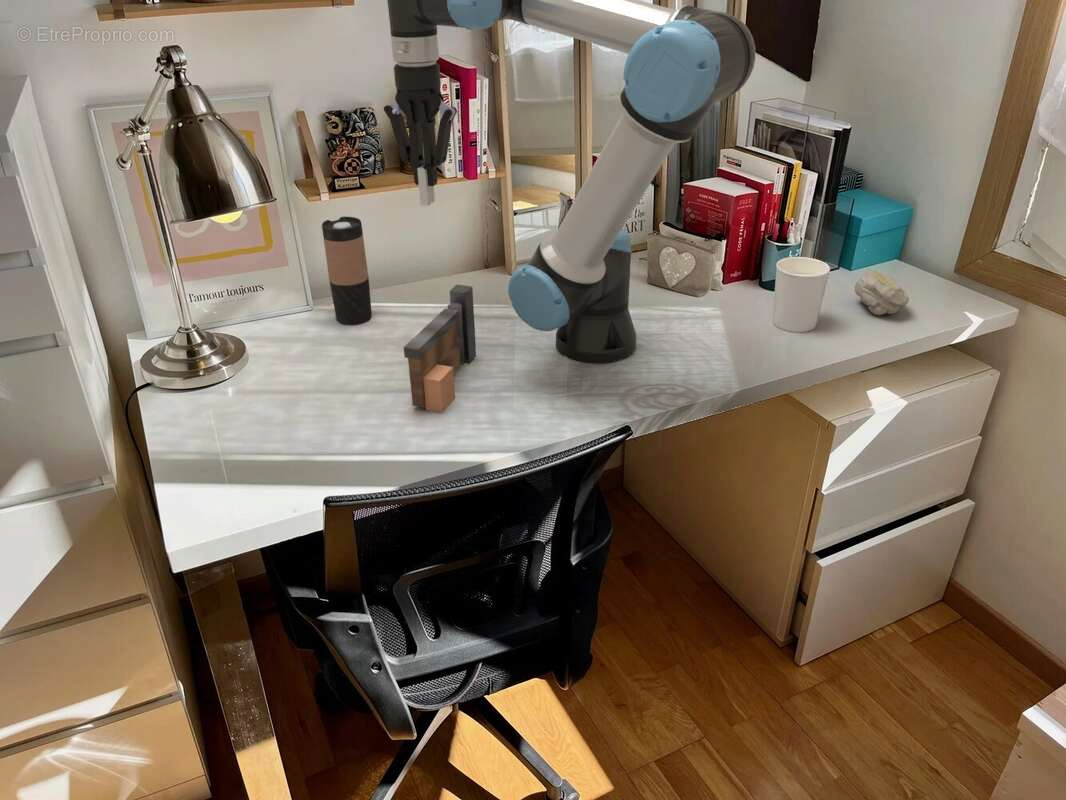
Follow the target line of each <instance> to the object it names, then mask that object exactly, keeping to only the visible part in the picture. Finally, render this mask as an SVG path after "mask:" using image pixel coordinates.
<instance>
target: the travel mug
mask: <svg viewBox="0 0 1066 800" xmlns="http://www.w3.org/2000/svg"><path fill="white" fill-rule="evenodd" d="M321 229H322V236H323V242H324V251H325V252H324V253H325V257H326V267H327V274H328V279H329V286H330V292H331V296H332V297H331V298H332V304H333V307H334V313H335V314H334V315H335V319H336V321H337V323H339V324H341V325H345V326H356V325H357V326H358V325H362V324H364V323H366V322H369V321H370V320H371V319H372V316H373V314H372V302H371V301H372V299H371V291H370V279H369V278H370V277H369V271H368V270H369V269H368V262H367V255H366V248H365V240H364V232H363V223H362V221H361V219H359V218H358V217H355V216H354V217H353V216H341V217H339V218H338V219H336V220H330V219H326V220H325V221H323V222H322V224H321Z"/></svg>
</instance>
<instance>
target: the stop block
mask: <svg viewBox="0 0 1066 800" xmlns="http://www.w3.org/2000/svg"><path fill="white" fill-rule="evenodd" d="M454 375H455V373H454V374H453V367H450V366H444V365H438V364H437V365H436V366H435V367H434V368H433V369H432V370H431V371H430V372H429V373H428V374H427V375H426V376H425V377H424V378H423V383H424V393H425V404H426V405H425V410H426V411H433V412H436V413H443V412H444V411H445V410H446V409H447V408H448V407H449V406H450V405H451V404H452V402H454V401H455V399H456V390H455V389H456V387H455V376H454Z"/></svg>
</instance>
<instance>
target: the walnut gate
mask: <svg viewBox="0 0 1066 800" xmlns="http://www.w3.org/2000/svg"><path fill="white" fill-rule="evenodd" d="M403 355H404V358H407V362H408V373H409V381H410V382H409V383H410V390H411V392H410V393H411V401H412V406H414V407H420V408H424V407H426V404H425V393H424V383H423V378H424V377H425V376H426V375H427V374H428V373H429V372H430V371H431V370H432V369H433V368H434V367H435V366H436V365H437V364H438V365H444V366H450V367H453V374H454V375H455V374H456V372H457V371H458V370H459V369H460V368H461V367H462V366H463V365H465V364H466V363H465V355H464V340H463V324H462V308H461V304H459V303H449V304H448V305H447V308H444V309H443V310H441V312H440V313H439V314H437V315H436V316H435V317H434V318H433V319H432V320H431V321H430V322H429V323H427V324H426V326H425V327H423V328H422V329H421V330H420V331H419V332H418V333H417V334H416V335H415V336H414V337H412V339H411V340H410V341H409V342H407V344H405V345H404V346H403Z"/></svg>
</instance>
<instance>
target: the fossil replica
mask: <svg viewBox="0 0 1066 800" xmlns="http://www.w3.org/2000/svg"><path fill="white" fill-rule="evenodd" d="M854 293H855V294H856V295H857V296H858V297H859V298H860V301H861V303H863V304H864V305H866V306H868V307H867V308H868V309H869V311H870V312H871V313H872V314H874V315H876V316H883V315H884V314H888V315H892V314H896V313H898V312H899V310H901V308H903V307H905V306H907V304H908V303H909V302H910V301H909V300H910V297H909V295H908V294H907V292H906V291H905V289H904V288H903V287H902V286H901V285H900V284H898V282H897V281H896V279H894V277H893V276H892V275H889V274H887V273H884V272H880V271H878V270H875V269H869V270H867V271H866V272H865V273H864V274H861V276H860V278H859V279H857V281H856V282H855V286H854Z"/></svg>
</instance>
